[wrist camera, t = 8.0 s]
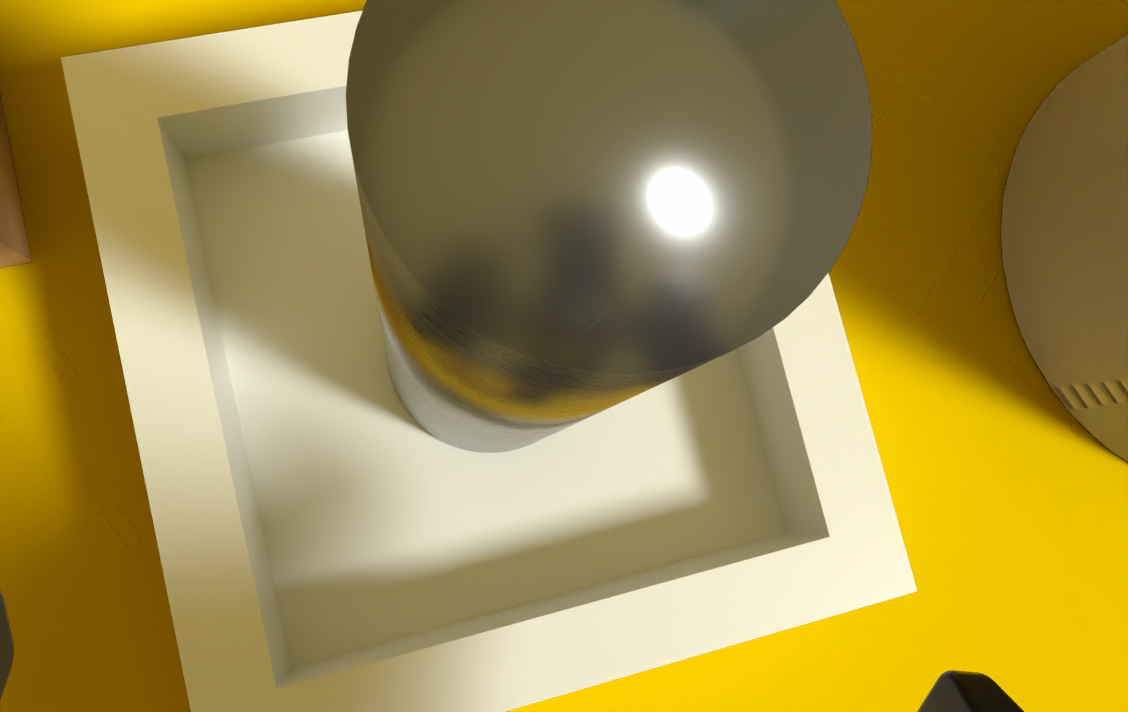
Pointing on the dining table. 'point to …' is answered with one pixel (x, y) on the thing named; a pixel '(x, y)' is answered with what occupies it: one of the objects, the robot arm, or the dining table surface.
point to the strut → (594, 193)
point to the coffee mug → (1075, 242)
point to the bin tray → (425, 432)
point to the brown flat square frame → (10, 208)
